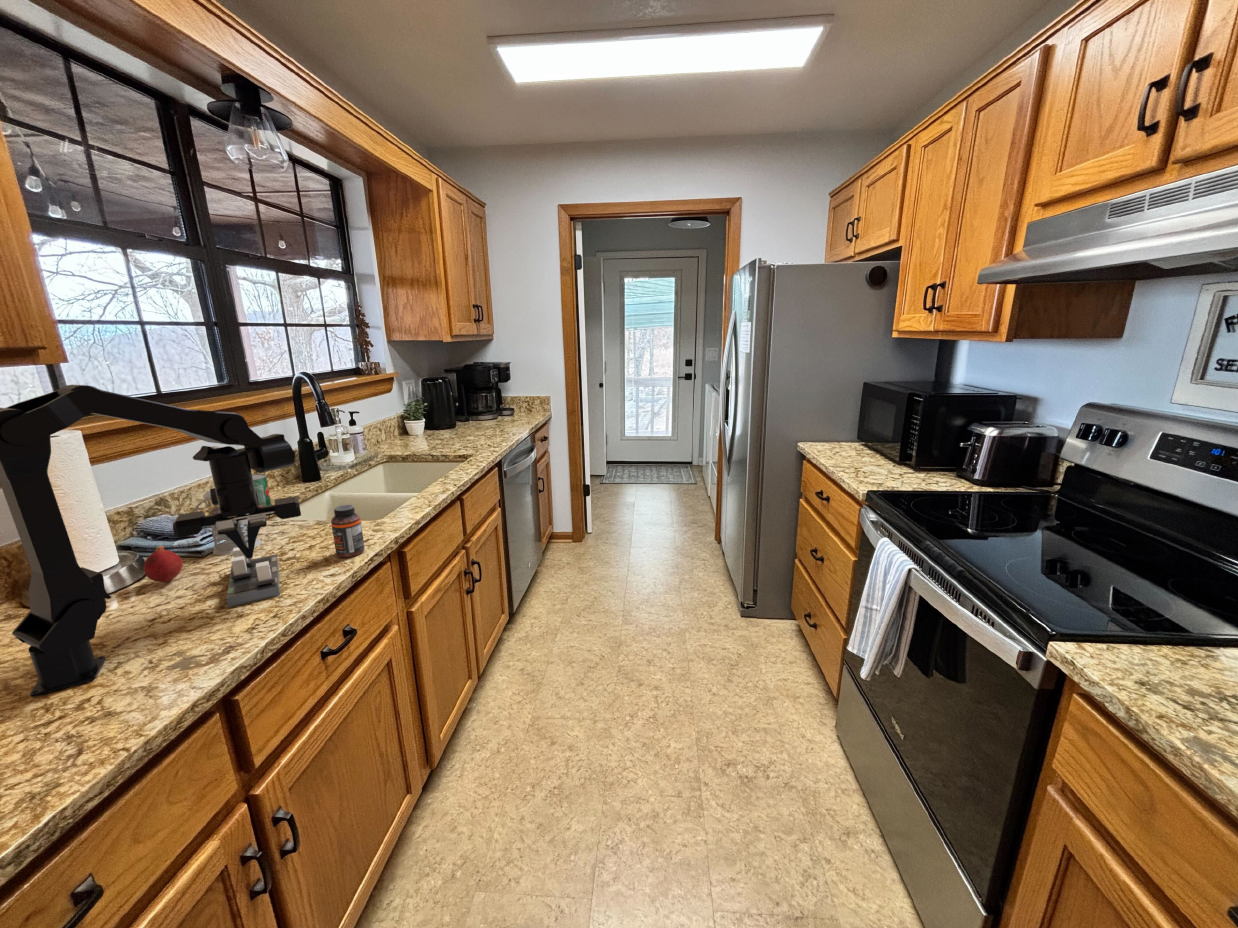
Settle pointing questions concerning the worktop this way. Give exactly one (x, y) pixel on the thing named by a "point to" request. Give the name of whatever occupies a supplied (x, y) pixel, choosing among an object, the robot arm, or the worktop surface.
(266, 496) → the canned tomato
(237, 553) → the far breaker handle
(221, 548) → the french press
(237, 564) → the handle
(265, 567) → the breaker handle
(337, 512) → the supplement bottle
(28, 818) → the worktop surface
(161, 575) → the onion
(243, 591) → the breaker panel
